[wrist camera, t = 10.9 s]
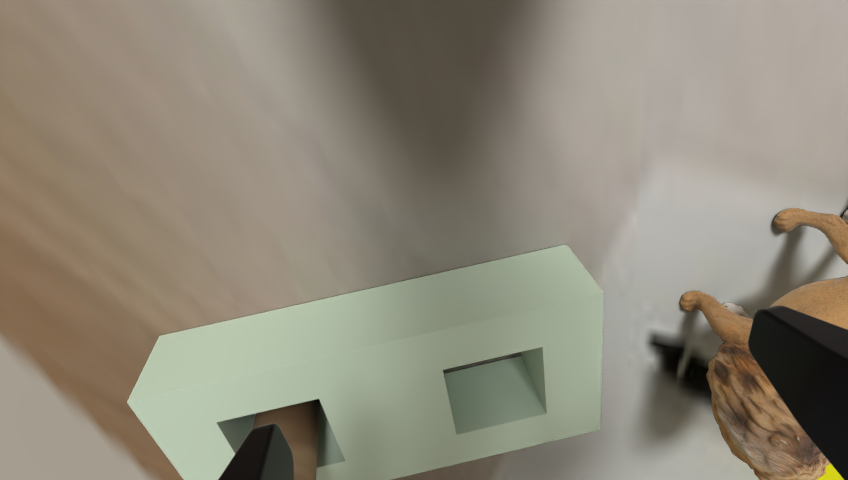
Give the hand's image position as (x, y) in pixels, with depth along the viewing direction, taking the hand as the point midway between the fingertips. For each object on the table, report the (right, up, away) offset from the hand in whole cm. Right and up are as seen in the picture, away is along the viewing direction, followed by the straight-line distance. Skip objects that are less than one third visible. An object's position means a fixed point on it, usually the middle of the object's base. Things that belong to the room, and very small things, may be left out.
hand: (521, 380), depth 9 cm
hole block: (-4, -4, +17) cm, 17 cm away
